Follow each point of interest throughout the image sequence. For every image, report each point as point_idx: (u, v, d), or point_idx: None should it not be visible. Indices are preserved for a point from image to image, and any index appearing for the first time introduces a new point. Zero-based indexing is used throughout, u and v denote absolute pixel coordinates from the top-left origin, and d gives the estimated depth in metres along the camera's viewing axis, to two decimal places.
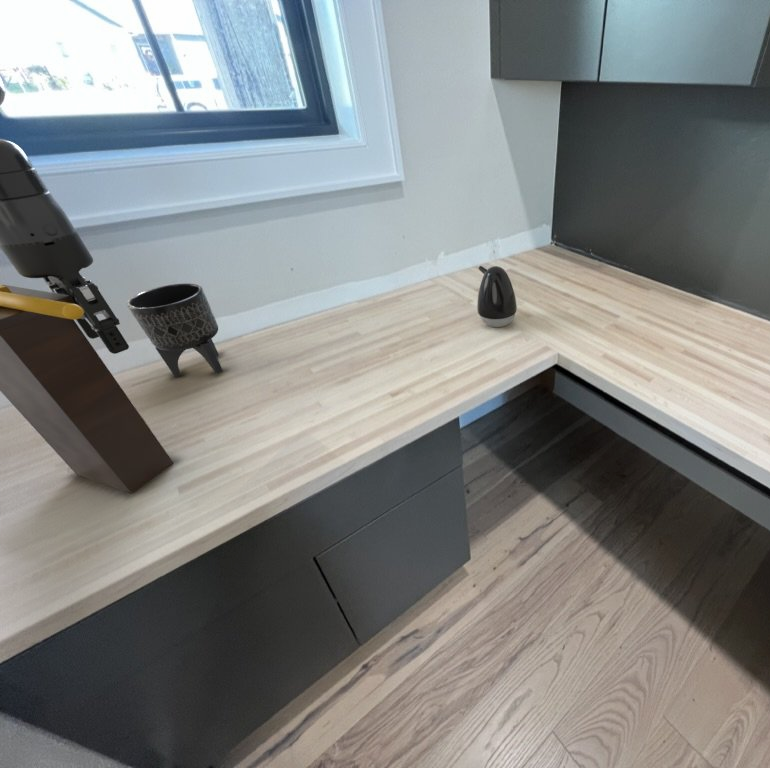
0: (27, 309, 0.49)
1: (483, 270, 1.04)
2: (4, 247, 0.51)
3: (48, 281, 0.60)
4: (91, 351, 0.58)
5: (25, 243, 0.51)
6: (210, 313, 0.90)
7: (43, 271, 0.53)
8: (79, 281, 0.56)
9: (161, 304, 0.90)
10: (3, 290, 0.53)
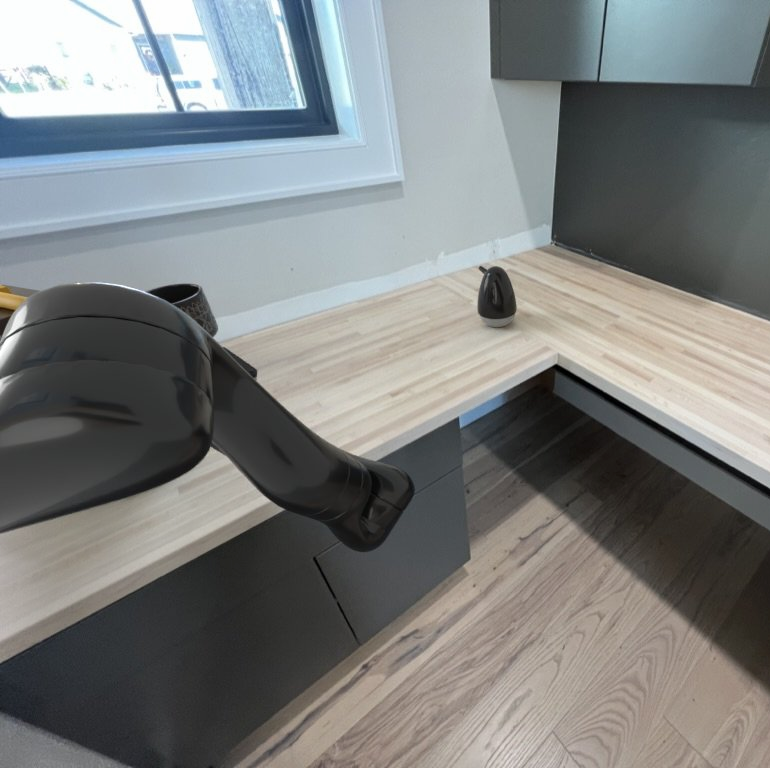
0: None
1: (483, 270, 1.04)
2: None
3: None
4: None
5: None
6: (210, 313, 0.90)
7: None
8: None
9: None
10: (3, 290, 0.53)
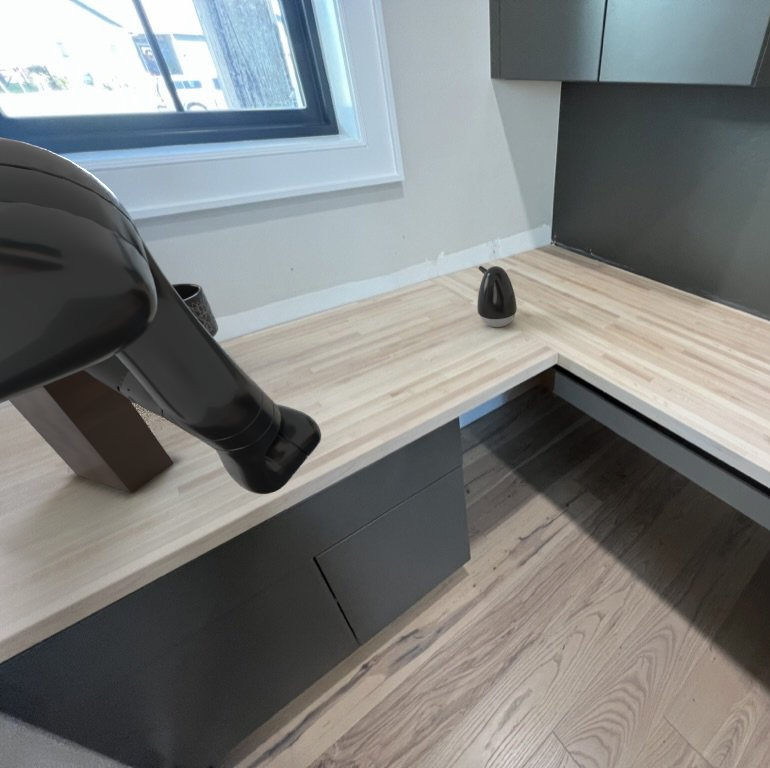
0: None
1: (483, 270, 1.04)
2: None
3: None
4: None
5: (124, 377, 0.46)
6: (210, 313, 0.90)
7: None
8: None
9: None
10: None
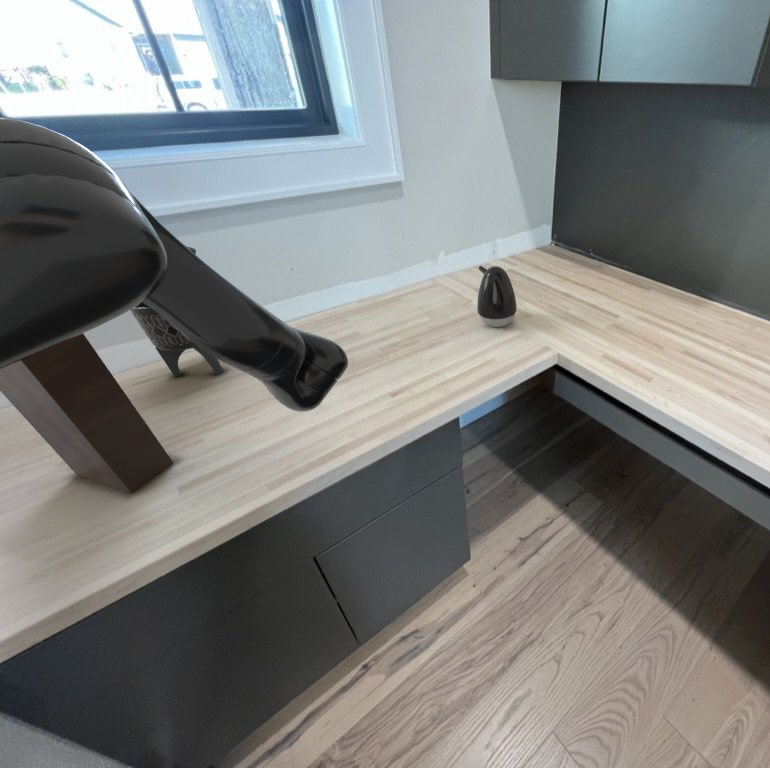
0: None
1: (483, 270, 1.04)
2: None
3: None
4: (91, 351, 0.58)
5: None
6: None
7: None
8: None
9: None
10: None
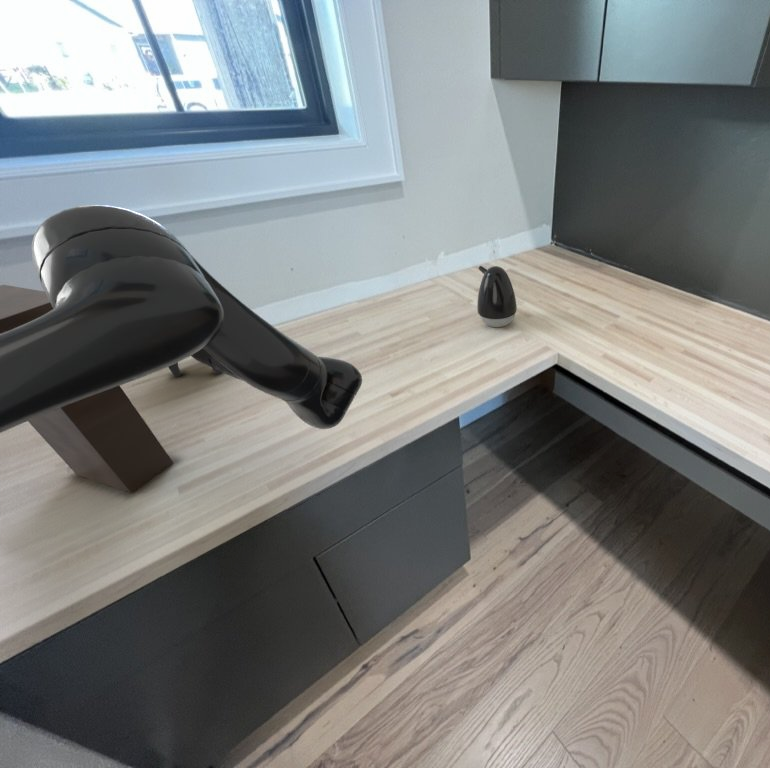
0: None
1: (483, 270, 1.04)
2: None
3: None
4: None
5: None
6: None
7: None
8: None
9: None
10: None
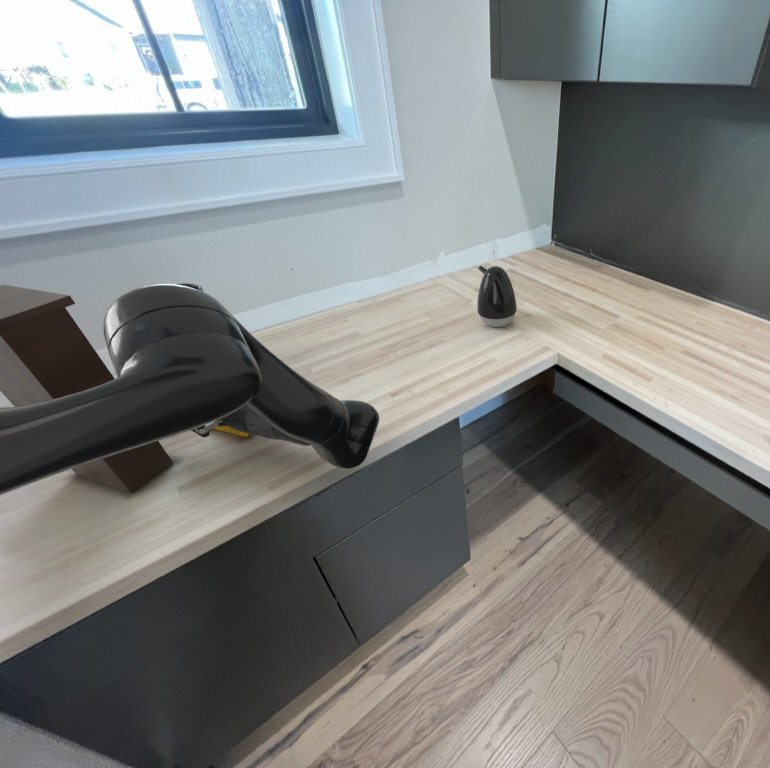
0: (213, 428, 0.77)
1: (483, 270, 1.04)
2: None
3: None
4: (91, 351, 0.58)
5: (246, 417, 0.66)
6: None
7: None
8: (220, 424, 0.69)
9: None
10: None
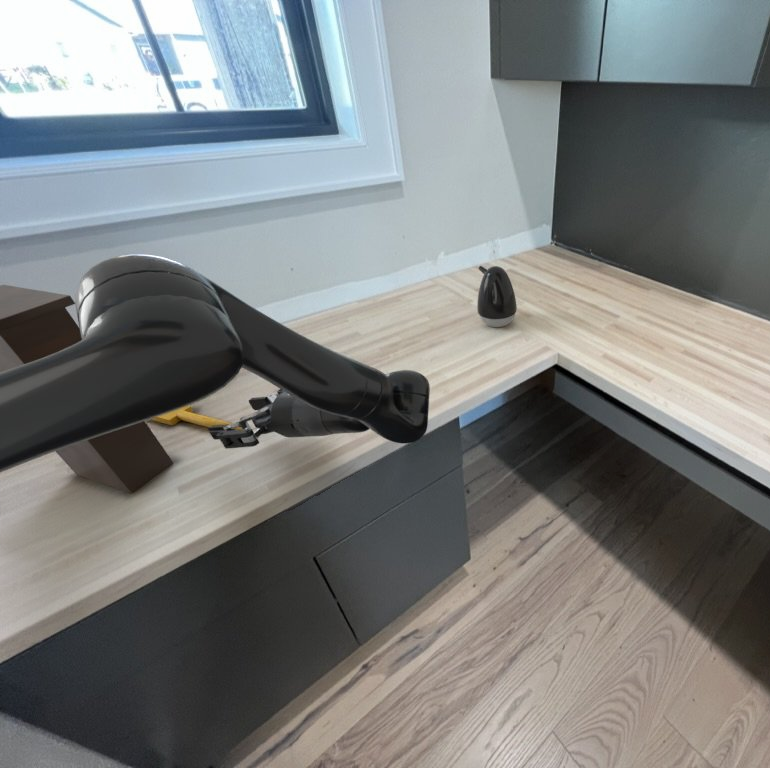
0: None
1: (483, 270, 1.04)
2: (294, 397, 0.63)
3: None
4: None
5: (292, 413, 0.62)
6: None
7: (273, 414, 0.63)
8: (267, 430, 0.64)
9: None
10: (189, 409, 0.81)
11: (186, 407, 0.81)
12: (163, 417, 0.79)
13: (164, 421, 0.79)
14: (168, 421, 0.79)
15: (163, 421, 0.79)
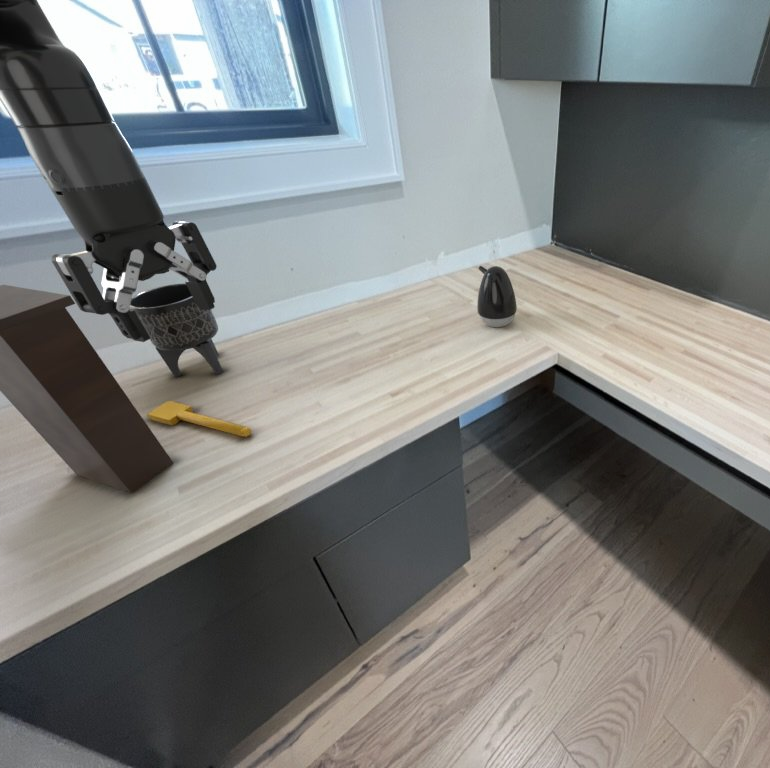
0: (213, 428, 0.77)
1: (483, 270, 1.04)
2: None
3: None
4: (91, 351, 0.58)
5: (49, 186, 0.40)
6: (210, 313, 0.90)
7: (72, 224, 0.42)
8: None
9: (161, 304, 0.90)
10: (189, 409, 0.81)
11: (186, 407, 0.81)
12: (163, 417, 0.79)
13: (164, 421, 0.79)
14: (168, 421, 0.79)
15: (163, 421, 0.79)
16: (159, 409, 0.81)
